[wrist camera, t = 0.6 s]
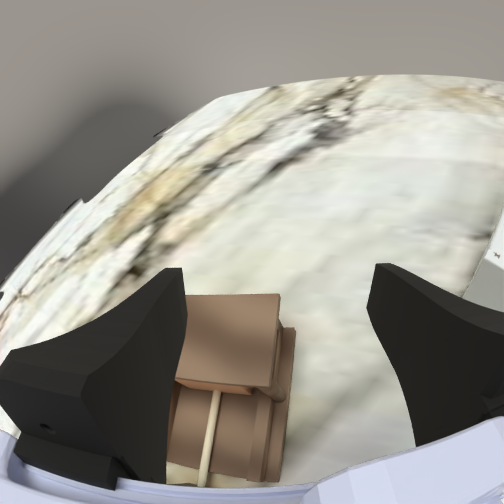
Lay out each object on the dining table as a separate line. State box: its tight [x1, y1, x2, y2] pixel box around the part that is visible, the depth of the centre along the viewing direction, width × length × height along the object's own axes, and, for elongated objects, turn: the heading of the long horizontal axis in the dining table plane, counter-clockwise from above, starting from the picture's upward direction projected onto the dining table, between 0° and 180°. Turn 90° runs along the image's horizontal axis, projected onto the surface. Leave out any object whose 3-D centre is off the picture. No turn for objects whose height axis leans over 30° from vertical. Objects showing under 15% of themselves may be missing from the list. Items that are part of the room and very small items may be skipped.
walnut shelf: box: [166, 294, 296, 482], centre depth 23 cm, size 14×12×8 cm
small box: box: [462, 205, 504, 312], centre depth 19 cm, size 8×6×10 cm
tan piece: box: [166, 379, 253, 488], centre depth 21 cm, size 16×6×5 cm, turn 172°
